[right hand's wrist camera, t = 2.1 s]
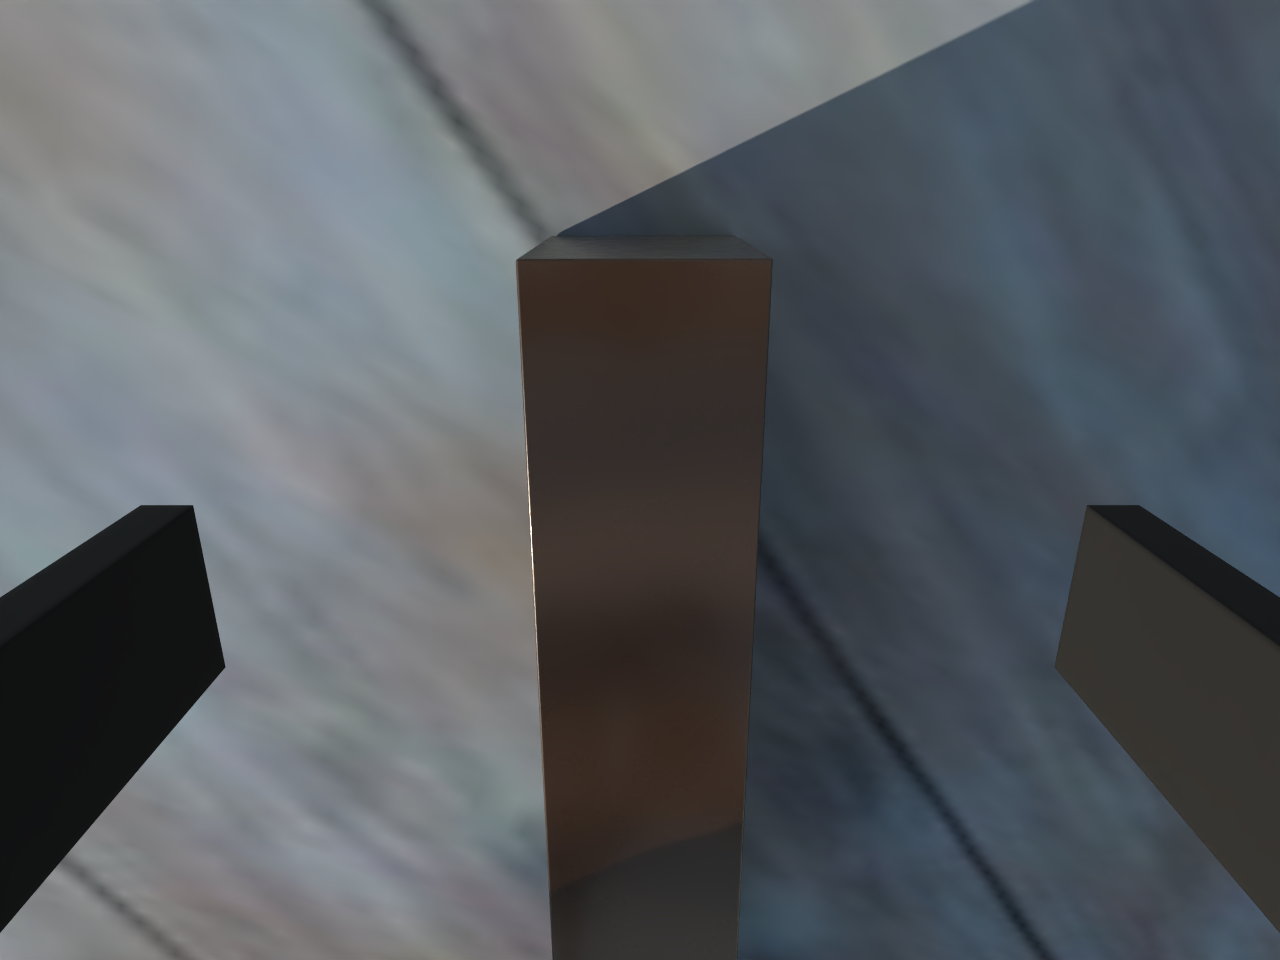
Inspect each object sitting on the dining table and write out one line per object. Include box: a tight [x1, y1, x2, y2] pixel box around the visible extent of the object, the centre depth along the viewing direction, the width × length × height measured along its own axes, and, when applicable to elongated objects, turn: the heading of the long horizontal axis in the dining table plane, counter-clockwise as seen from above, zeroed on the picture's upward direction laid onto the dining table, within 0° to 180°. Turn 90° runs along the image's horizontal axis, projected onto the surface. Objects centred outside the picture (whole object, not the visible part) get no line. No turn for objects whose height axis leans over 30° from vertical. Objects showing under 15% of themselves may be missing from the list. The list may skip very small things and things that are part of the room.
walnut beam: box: [516, 236, 773, 960], centre depth 29 cm, size 36×6×8 cm, turn 0°
